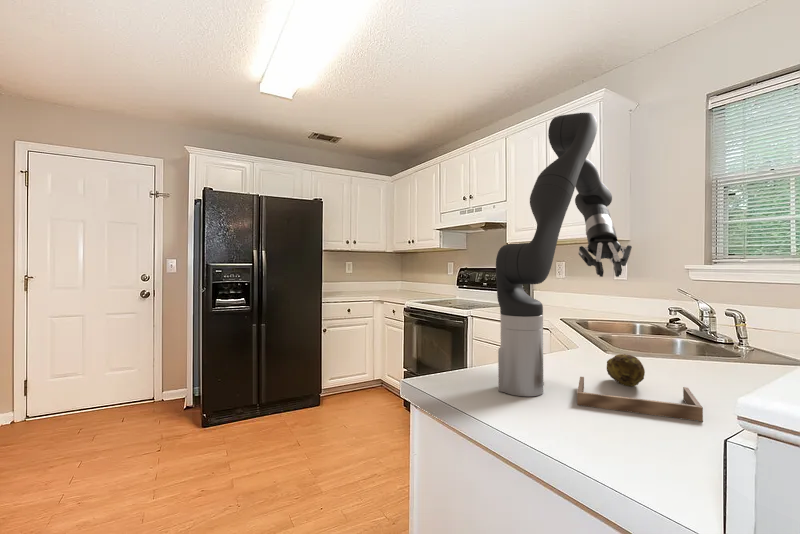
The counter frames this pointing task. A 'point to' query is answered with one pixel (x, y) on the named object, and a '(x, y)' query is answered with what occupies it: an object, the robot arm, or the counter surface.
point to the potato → (626, 369)
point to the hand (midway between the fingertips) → (609, 274)
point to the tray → (643, 404)
